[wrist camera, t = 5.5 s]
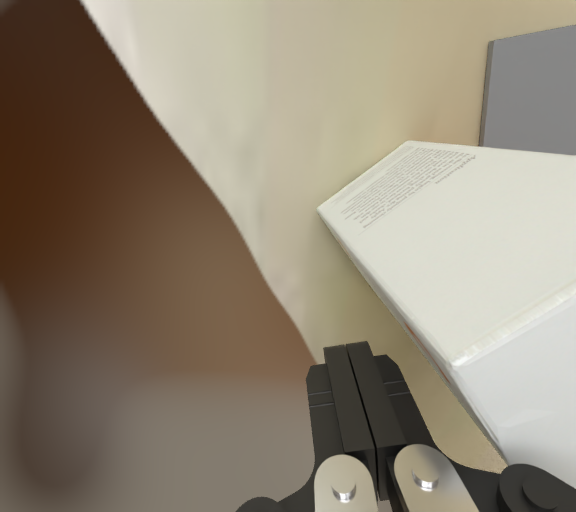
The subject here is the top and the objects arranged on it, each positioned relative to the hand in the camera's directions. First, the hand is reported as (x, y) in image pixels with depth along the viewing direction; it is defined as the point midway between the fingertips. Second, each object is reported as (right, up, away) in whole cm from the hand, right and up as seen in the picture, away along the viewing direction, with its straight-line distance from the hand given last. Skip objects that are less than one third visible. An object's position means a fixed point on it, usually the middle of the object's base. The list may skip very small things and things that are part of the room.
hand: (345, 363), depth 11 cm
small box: (+4, +5, +8) cm, 11 cm away
